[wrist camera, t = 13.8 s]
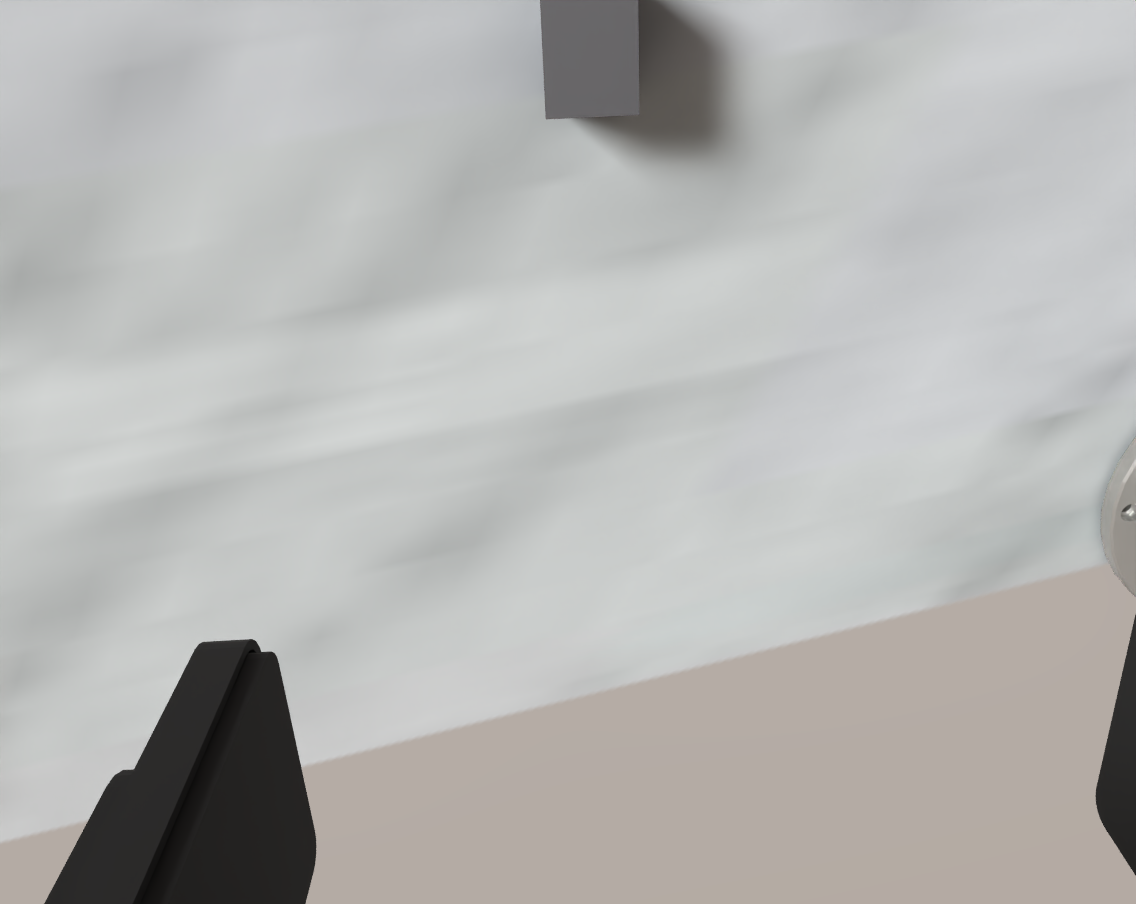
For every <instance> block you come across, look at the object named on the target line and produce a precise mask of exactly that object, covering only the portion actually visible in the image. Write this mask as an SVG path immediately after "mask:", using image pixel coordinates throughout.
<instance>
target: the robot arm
mask: <svg viewBox="0 0 1136 904" xmlns="http://www.w3.org/2000/svg"><path fill="white" fill-rule="evenodd" d="M1101 537H1102V542H1103V547H1104V552H1105V555H1106V557H1107V559H1108V562H1109V564H1110V566H1111V568H1112V569H1113V572H1114V574H1115V575H1116V576H1117V577H1118V578H1119V579H1120V580H1121V582H1122V583H1123V584H1124V585H1125V586H1126V587H1127V589H1128V590H1129V591H1130V592H1131V593H1132V594H1133V595H1134V596H1135V597H1136V437H1135V439H1134V440H1133V441H1132V443H1131V444H1130V446H1129V447H1128V449H1127V450H1126V452H1125V453H1124V454H1123V456H1122V457H1121V459H1120V460H1119V462H1118V464H1117V466H1116V468H1115V471H1114V473H1113V475H1112V477H1111V479H1110V481H1109V483H1108V486H1107V490H1106V494H1105V498H1104V502H1103V506H1102V510H1101ZM1096 805H1097V809H1098V813H1099V816H1100V819H1101V821H1102V823H1103V825H1104V827H1105V828H1106V830H1107V832H1108V833H1109V835H1110V836H1111V838H1112V839H1113V841H1114V843H1115V844H1116V845H1117V847H1118V849H1119V850H1120V852H1121V853H1122V855H1123V857H1124V858H1125V859H1126V861H1127V863H1128V864H1129V866H1130V867H1131V869H1132V870H1133V872H1134V874H1135V875H1136V615H1135V620H1134V624H1133V629H1132V633H1131V637H1130V642H1129V646H1128V650H1127V655H1126V659H1125V664H1124V668H1123V672H1122V677H1121V681H1120V686H1119V690H1118V695H1117V699H1116V703H1115V708H1114V712H1113V717H1112V721H1111V726H1110V730H1109V735H1108V739H1107V743H1106V748H1105V752H1104V757H1103V761H1102V765H1101V770H1100V774H1099V779H1098V783H1097V788H1096ZM315 858H316V836H315V830H314V825H313V820H312V816H311V811H310V806H309V802H308V797H307V792H306V788H305V783H304V778H303V774H302V769H301V765H300V760H299V755H298V751H297V746H296V741H295V737H294V732H293V727H292V723H291V718H290V714H289V709H288V704H287V700H286V695H285V690H284V686H283V681H282V676H281V672H280V667H279V663H278V659H277V657H276V655H275V653H273V652H261V650H260V647H259V645H258V644H257V642H256V641H255V640H253V639H249V640H231V641H213V642H202V643H200V644H199V645H198V646H197V647H196V649H195V650H194V652H193V654H192V656H191V658H190V660H189V662H188V664H187V666H186V668H185V670H184V672H183V674H182V676H181V678H180V680H179V682H178V684H177V686H176V688H175V690H174V692H173V694H172V696H171V698H170V700H169V702H168V704H167V706H166V708H165V710H164V712H163V714H162V715H161V717H160V719H159V721H158V723H157V725H156V727H155V729H154V731H153V733H152V735H151V737H150V739H149V741H148V743H147V745H146V747H145V749H144V751H143V753H142V755H141V757H140V759H139V761H138V763H137V765H136V767H135V769H134V770H122V771H121V772H119V773H118V774H116V775H115V776H114V777H113V778H112V780H111V781H110V783H109V784H108V785H107V787H106V788H105V790H104V792H103V794H102V796H101V798H100V800H99V802H98V804H97V805H96V807H95V809H94V811H93V813H92V815H91V817H90V819H89V821H88V822H87V824H86V826H85V828H84V830H83V832H82V834H81V836H80V838H79V839H78V841H77V843H76V845H75V847H74V849H73V851H72V853H71V855H70V856H69V859H68V860H67V862H66V864H65V866H64V868H63V870H62V872H61V874H60V875H59V877H58V879H57V881H56V883H55V885H54V887H53V889H52V890H51V892H50V894H49V896H48V898H47V900H46V902H45V903H44V904H305V903H306V899H307V895H308V891H309V887H310V883H311V879H312V875H313V871H314V866H315Z"/></svg>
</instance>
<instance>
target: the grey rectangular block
mask: <svg viewBox="0 0 1136 904" xmlns="http://www.w3.org/2000/svg"><path fill="white" fill-rule="evenodd" d="M540 8H541V28H542V49H543V70H544V90H545V111H546V119H562V118H584V117H606V116H628V115H639V23H638V0H540Z"/></svg>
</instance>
